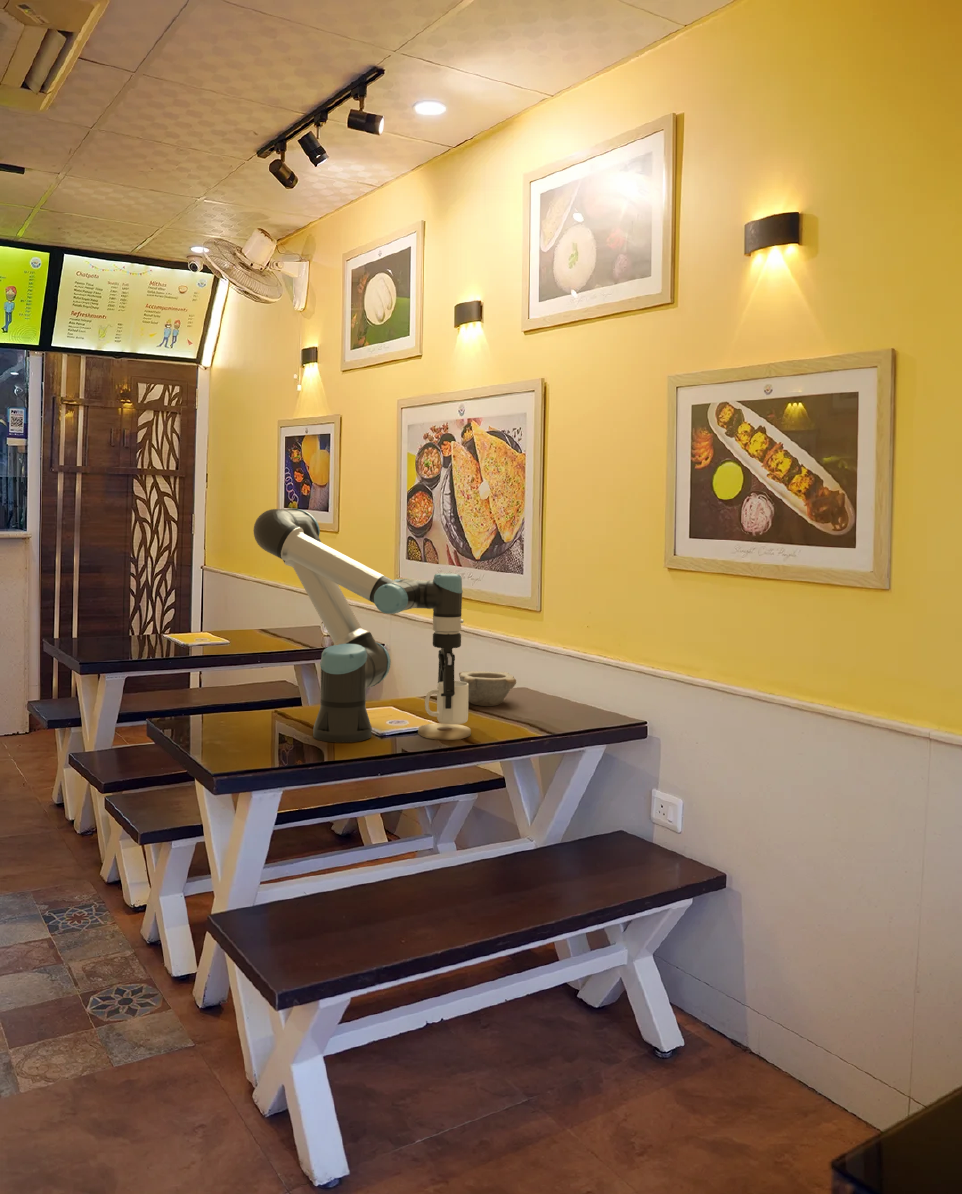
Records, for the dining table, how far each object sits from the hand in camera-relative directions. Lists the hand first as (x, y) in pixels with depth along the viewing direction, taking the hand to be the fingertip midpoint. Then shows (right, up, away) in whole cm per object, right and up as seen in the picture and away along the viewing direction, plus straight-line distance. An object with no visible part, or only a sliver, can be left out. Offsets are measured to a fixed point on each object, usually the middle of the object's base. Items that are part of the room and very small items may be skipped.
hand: (445, 716), depth 267 cm
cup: (0, -2, 0) cm, 2 cm away
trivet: (0, -5, 0) cm, 5 cm away
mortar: (+11, -1, +43) cm, 44 cm away
